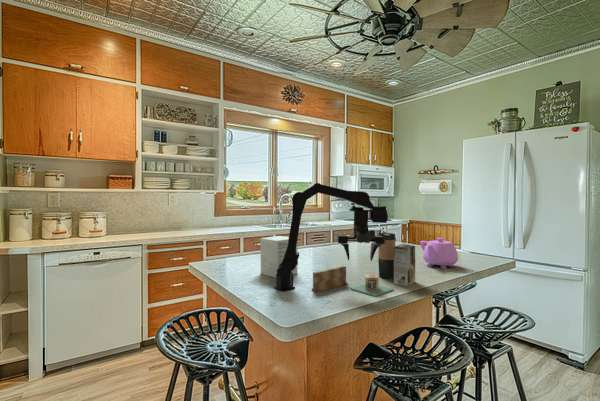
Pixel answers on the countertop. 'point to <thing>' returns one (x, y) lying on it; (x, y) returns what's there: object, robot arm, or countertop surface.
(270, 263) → the supplement box
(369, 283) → the letter block
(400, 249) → the coffee box
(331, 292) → the countertop surface
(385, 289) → the mat
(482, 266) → the countertop surface
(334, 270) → the screen
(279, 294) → the countertop surface
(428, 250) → the teapot
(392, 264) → the travel mug
